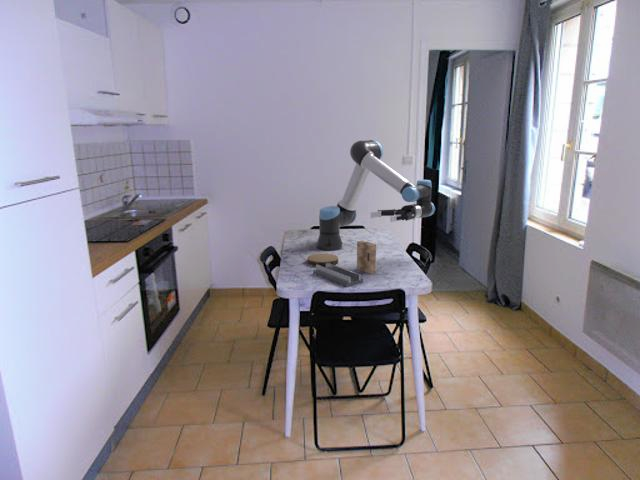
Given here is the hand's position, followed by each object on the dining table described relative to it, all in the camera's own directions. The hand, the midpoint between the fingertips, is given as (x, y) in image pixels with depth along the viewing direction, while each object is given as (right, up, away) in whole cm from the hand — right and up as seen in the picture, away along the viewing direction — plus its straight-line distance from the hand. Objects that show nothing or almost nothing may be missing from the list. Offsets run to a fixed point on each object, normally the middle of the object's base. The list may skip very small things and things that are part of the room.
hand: (380, 217), depth 218 cm
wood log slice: (-28, -23, +14) cm, 39 cm away
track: (-22, -29, -10) cm, 37 cm away
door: (-7, -26, 0) cm, 27 cm away
